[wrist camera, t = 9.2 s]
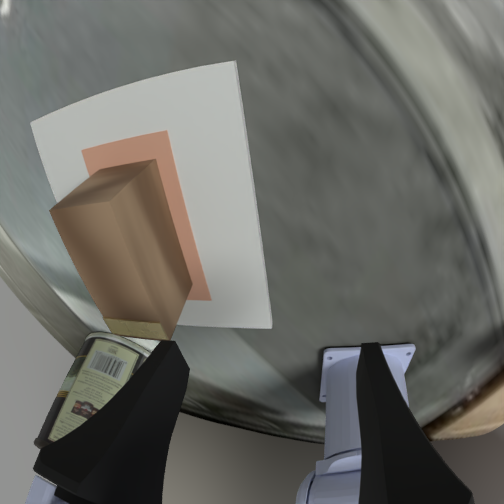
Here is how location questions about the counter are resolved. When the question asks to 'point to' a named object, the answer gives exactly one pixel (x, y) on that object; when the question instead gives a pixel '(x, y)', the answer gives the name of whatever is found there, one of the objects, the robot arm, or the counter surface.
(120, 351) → the coffee can
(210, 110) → the mat
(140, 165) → the walnut block
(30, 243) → the counter surface
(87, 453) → the robot arm
